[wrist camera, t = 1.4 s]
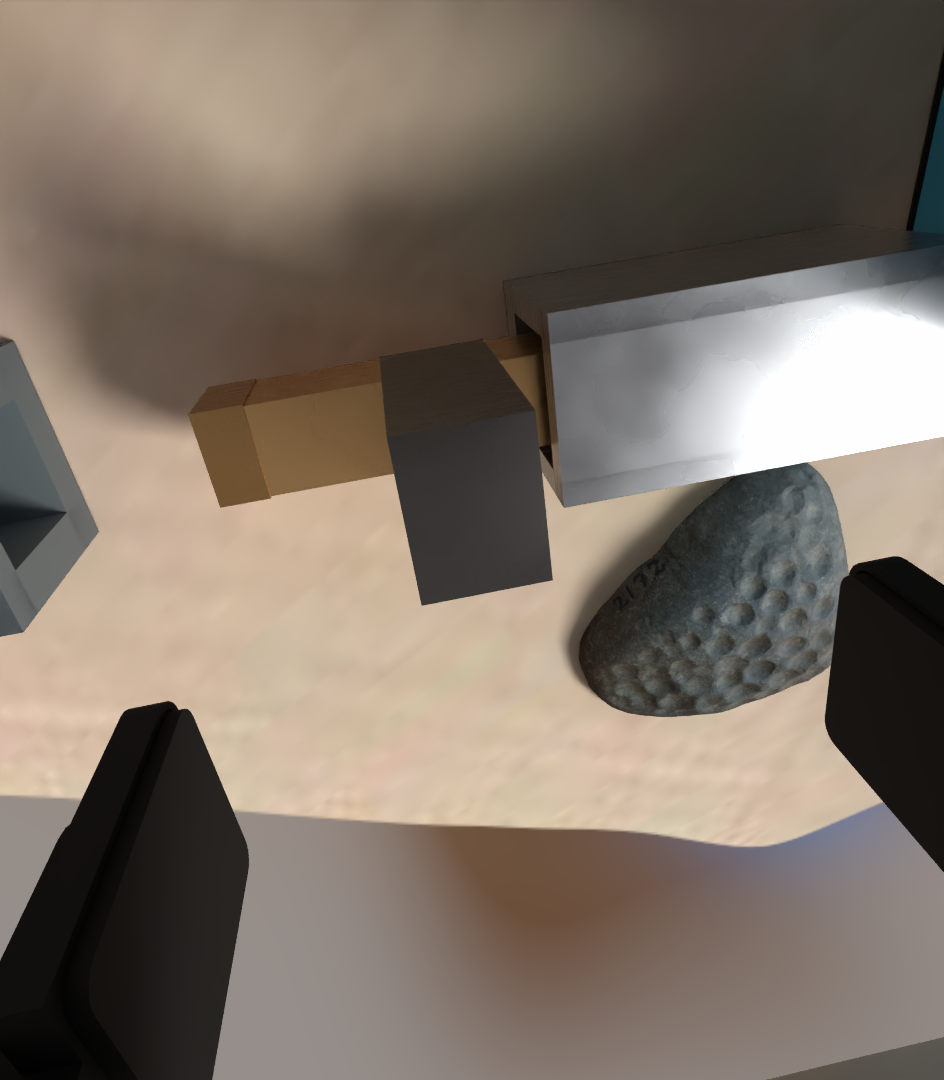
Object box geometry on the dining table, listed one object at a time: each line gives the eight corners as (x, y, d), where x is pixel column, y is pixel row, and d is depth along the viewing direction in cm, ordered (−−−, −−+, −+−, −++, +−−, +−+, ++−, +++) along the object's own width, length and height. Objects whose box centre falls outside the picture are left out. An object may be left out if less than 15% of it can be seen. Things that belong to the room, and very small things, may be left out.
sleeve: (503, 281, 24) (547, 314, 18) (839, 224, 24) (985, 237, 19) (520, 436, 26) (564, 507, 21) (823, 380, 27) (947, 435, 21)
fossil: (866, 596, 33) (926, 644, 29) (632, 736, 35) (662, 797, 31) (792, 432, 28) (852, 466, 25) (527, 603, 30) (549, 656, 27)
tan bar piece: (203, 369, 22) (103, 488, 13) (874, 253, 23) (1164, 296, 15) (240, 486, 24) (174, 653, 15) (859, 373, 25) (1108, 471, 17)
